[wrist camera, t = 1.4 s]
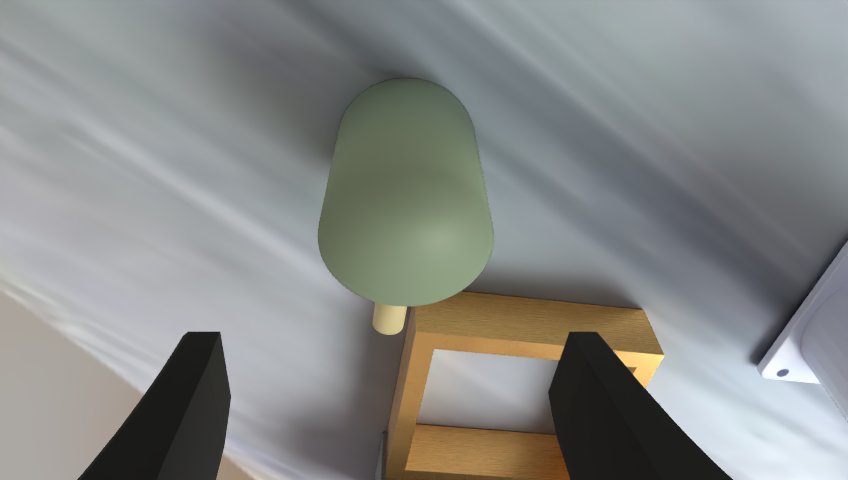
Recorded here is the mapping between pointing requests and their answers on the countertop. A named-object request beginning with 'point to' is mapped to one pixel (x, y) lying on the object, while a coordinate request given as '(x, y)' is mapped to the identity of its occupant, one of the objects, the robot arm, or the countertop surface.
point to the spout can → (405, 200)
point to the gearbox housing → (503, 335)
